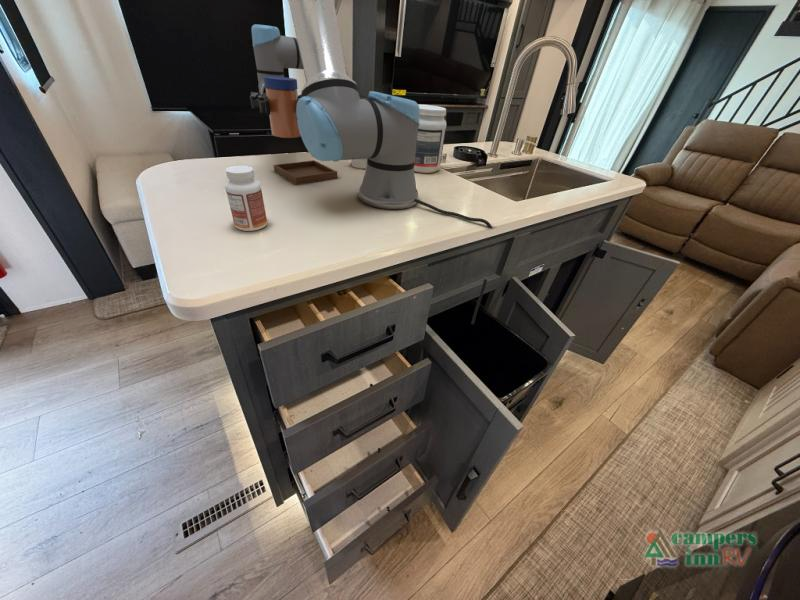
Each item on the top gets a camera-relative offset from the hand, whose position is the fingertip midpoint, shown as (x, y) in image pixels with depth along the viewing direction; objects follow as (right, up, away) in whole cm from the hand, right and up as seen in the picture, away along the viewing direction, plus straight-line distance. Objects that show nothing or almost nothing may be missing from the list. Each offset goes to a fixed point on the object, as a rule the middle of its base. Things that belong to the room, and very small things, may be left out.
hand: (285, 108), depth 75 cm
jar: (-2, -2, +7) cm, 8 cm away
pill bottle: (-4, -30, -10) cm, 32 cm away
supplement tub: (+34, 0, +35) cm, 49 cm away
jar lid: (-1, +7, 0) cm, 7 cm away
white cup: (+14, 0, +32) cm, 35 cm away
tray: (-1, -8, +19) cm, 21 cm away
